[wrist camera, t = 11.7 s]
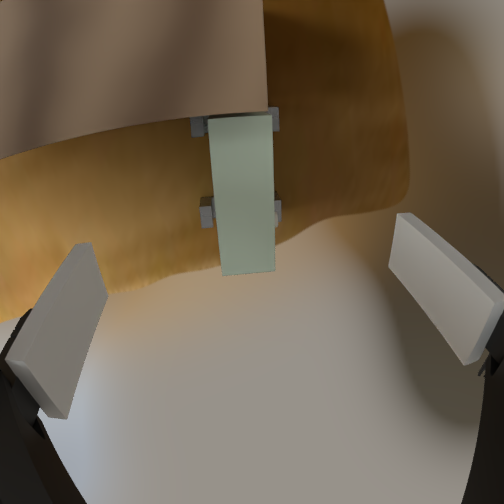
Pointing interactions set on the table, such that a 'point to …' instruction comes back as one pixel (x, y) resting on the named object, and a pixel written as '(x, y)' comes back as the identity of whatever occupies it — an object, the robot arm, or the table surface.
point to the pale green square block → (244, 190)
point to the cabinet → (124, 65)
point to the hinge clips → (208, 203)
